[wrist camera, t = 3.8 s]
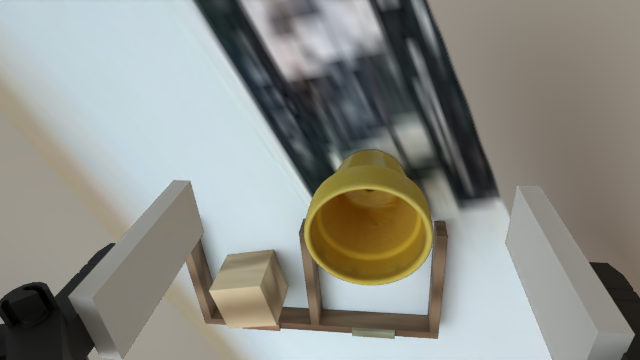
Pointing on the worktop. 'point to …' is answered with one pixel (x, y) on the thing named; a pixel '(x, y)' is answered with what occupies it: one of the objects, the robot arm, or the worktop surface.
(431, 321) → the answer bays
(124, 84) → the worktop surface
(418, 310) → the worktop surface
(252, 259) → the oak block
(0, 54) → the worktop surface
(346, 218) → the plant pot
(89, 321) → the robot arm
